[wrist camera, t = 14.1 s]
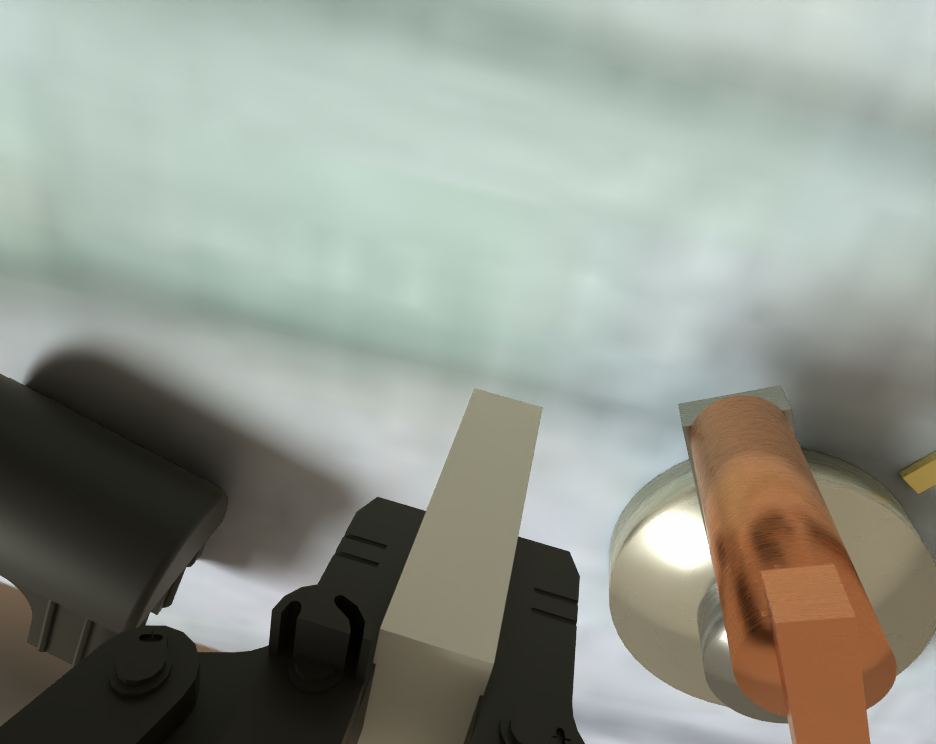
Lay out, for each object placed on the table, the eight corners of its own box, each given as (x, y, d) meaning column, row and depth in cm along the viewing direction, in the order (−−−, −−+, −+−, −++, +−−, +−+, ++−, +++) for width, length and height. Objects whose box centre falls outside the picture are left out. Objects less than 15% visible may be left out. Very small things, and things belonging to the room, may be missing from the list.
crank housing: (580, 470, 23) (577, 507, 21) (991, 407, 19) (1029, 445, 18) (640, 672, 27) (642, 716, 25) (992, 651, 23) (1023, 702, 21)
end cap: (256, 453, 26) (149, 581, 20) (208, 566, 29) (106, 703, 23) (18, 328, 25) (-166, 421, 19) (-2, 457, 28) (-162, 570, 22)
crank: (851, 664, 21) (1004, 1067, 13) (708, 672, 23) (765, 1043, 14) (808, 316, 17) (1006, 604, 8) (631, 352, 18) (649, 632, 10)
